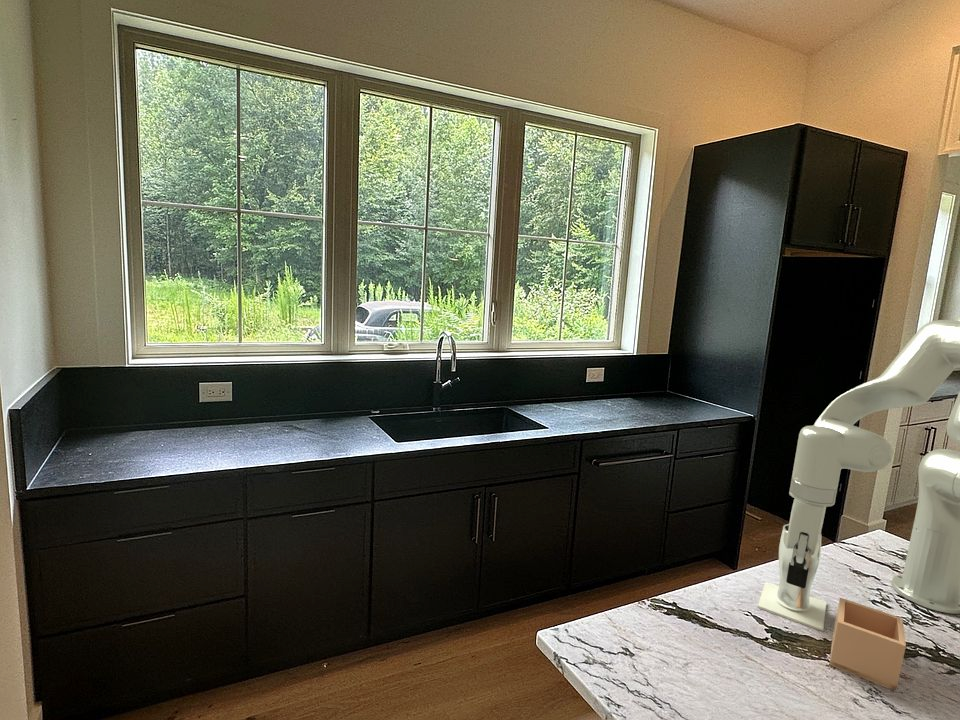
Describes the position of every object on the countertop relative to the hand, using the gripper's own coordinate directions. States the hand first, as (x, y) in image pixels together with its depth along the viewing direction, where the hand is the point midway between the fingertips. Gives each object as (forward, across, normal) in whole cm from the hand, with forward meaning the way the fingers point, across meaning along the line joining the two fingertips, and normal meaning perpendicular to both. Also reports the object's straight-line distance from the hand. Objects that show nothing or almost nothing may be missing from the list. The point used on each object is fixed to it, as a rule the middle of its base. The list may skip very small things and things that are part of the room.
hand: (797, 575), depth 107 cm
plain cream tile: (+7, 0, 0) cm, 7 cm away
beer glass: (+6, 0, 0) cm, 6 cm away
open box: (+6, +11, +11) cm, 17 cm away
